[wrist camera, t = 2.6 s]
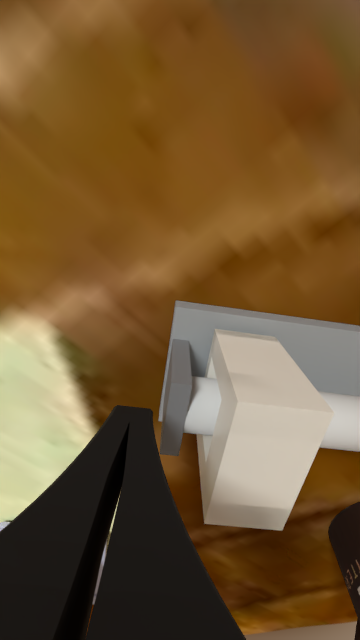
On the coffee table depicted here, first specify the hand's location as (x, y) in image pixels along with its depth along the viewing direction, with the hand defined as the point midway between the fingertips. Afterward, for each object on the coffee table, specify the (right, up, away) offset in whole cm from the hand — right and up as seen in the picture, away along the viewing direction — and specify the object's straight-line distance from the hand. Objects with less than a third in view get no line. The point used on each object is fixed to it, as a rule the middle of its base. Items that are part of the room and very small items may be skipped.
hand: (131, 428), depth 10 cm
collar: (+5, +1, +4) cm, 6 cm away
